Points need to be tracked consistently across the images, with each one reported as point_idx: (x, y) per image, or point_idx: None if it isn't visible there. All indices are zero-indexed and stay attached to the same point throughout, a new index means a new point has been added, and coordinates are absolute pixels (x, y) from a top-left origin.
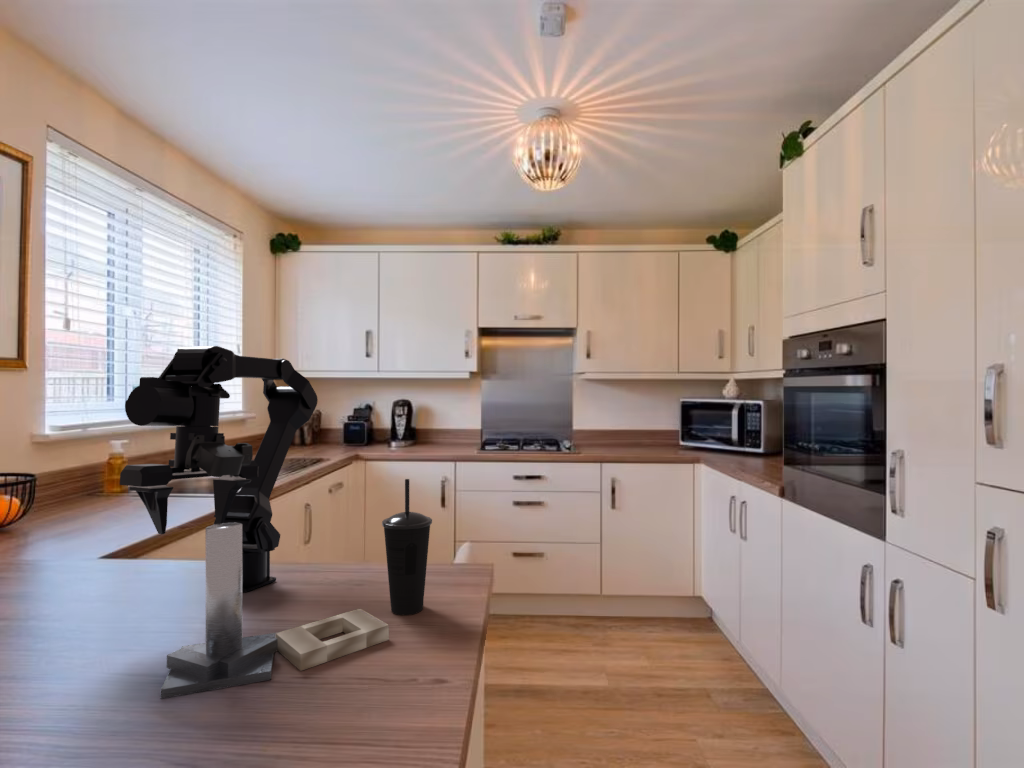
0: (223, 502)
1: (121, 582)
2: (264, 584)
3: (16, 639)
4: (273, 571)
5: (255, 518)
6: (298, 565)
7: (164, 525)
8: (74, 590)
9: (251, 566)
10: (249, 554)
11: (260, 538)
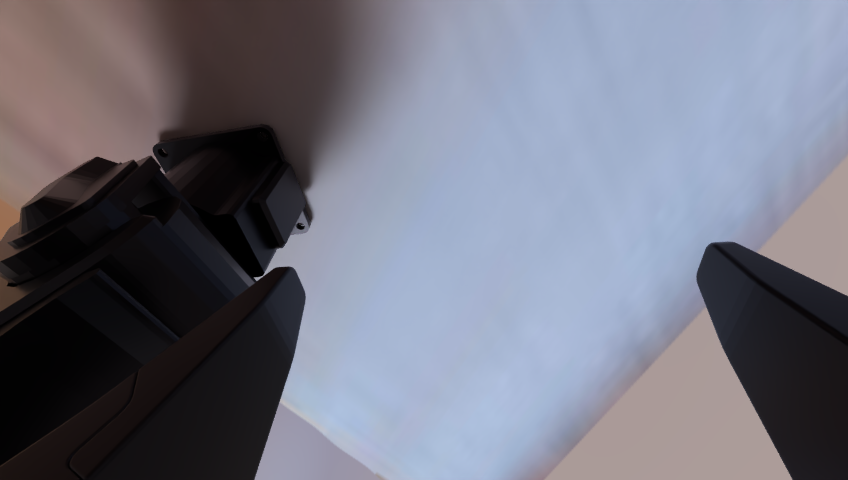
0: (205, 403)
1: (441, 396)
2: (201, 135)
3: None
4: None
5: (52, 272)
6: None
7: (769, 273)
8: (509, 411)
9: (214, 176)
10: (199, 203)
11: (110, 179)
